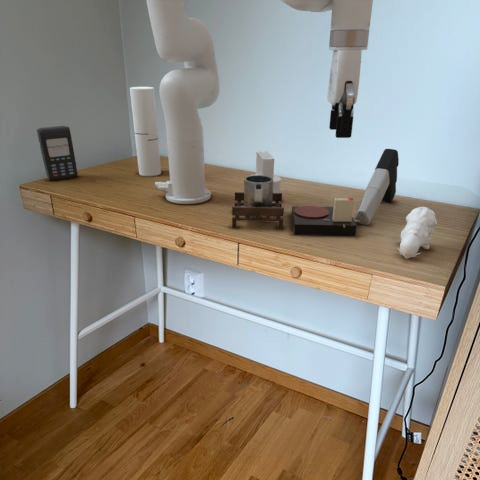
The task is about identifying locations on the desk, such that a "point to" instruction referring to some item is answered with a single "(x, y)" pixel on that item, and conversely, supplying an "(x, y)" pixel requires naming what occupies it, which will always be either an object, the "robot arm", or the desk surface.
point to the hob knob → (343, 209)
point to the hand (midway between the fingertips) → (339, 133)
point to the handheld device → (379, 186)
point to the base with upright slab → (267, 169)
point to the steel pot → (258, 191)
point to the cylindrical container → (145, 130)
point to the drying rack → (257, 211)
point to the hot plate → (311, 211)
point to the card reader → (57, 152)
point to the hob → (322, 225)
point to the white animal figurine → (417, 231)
